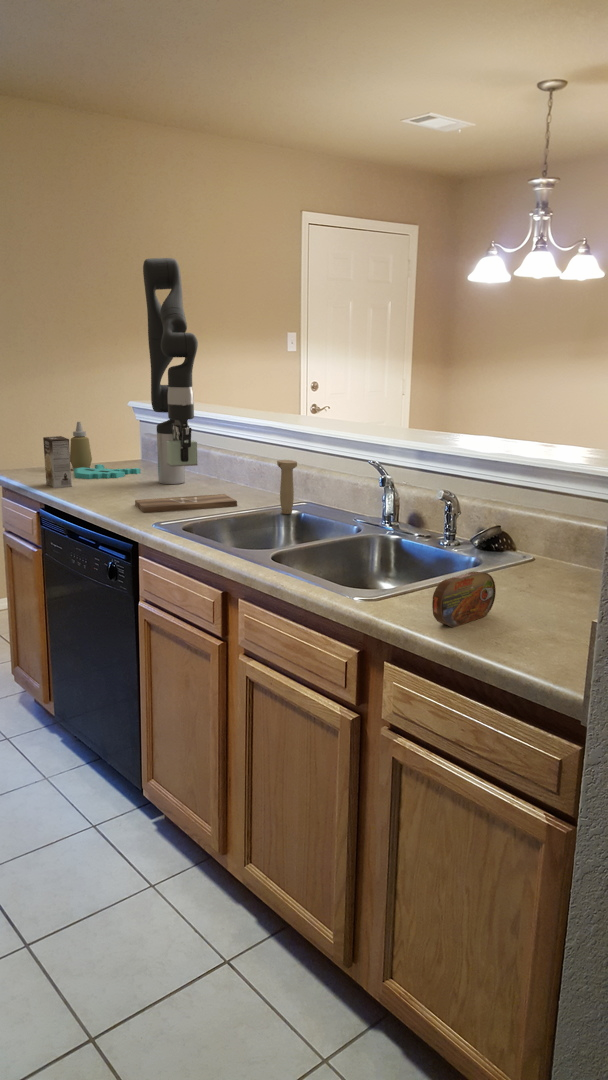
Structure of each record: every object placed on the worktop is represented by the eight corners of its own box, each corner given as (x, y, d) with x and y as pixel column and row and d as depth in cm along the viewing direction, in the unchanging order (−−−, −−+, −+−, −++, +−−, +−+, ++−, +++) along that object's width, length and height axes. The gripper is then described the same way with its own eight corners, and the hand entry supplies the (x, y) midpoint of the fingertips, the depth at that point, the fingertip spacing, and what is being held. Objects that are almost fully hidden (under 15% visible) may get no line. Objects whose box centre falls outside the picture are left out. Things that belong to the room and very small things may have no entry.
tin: (441, 631, 138) (444, 584, 136) (427, 626, 140) (429, 580, 138) (495, 614, 147) (498, 569, 145) (481, 609, 150) (484, 566, 148)
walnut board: (135, 504, 241) (134, 499, 240) (224, 498, 251) (224, 493, 251) (143, 512, 230) (143, 507, 230) (237, 505, 241) (236, 500, 240)
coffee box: (45, 484, 273) (42, 436, 270) (64, 482, 277) (61, 435, 273) (53, 488, 266) (50, 439, 262) (72, 486, 270) (70, 438, 266)
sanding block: (167, 464, 241) (166, 441, 240) (193, 463, 244) (192, 440, 243) (171, 466, 237) (170, 443, 235) (197, 465, 240) (197, 441, 238)
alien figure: (99, 470, 307) (61, 477, 290) (98, 464, 307) (60, 471, 290) (140, 474, 298) (103, 482, 281) (140, 468, 298) (103, 475, 281)
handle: (285, 516, 227) (285, 463, 224) (273, 512, 232) (273, 460, 229) (299, 514, 230) (300, 462, 226) (287, 510, 235) (288, 459, 231)
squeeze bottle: (66, 470, 301) (63, 422, 297) (76, 467, 309) (73, 420, 305) (87, 471, 300) (84, 423, 296) (95, 468, 308) (93, 421, 304)
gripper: (162, 401, 241) (164, 457, 245) (174, 404, 228) (175, 464, 232) (186, 400, 244) (188, 456, 248) (199, 404, 231) (201, 462, 235)
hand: (182, 459), depth 240 cm, fingers closed on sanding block, 5 cm apart
